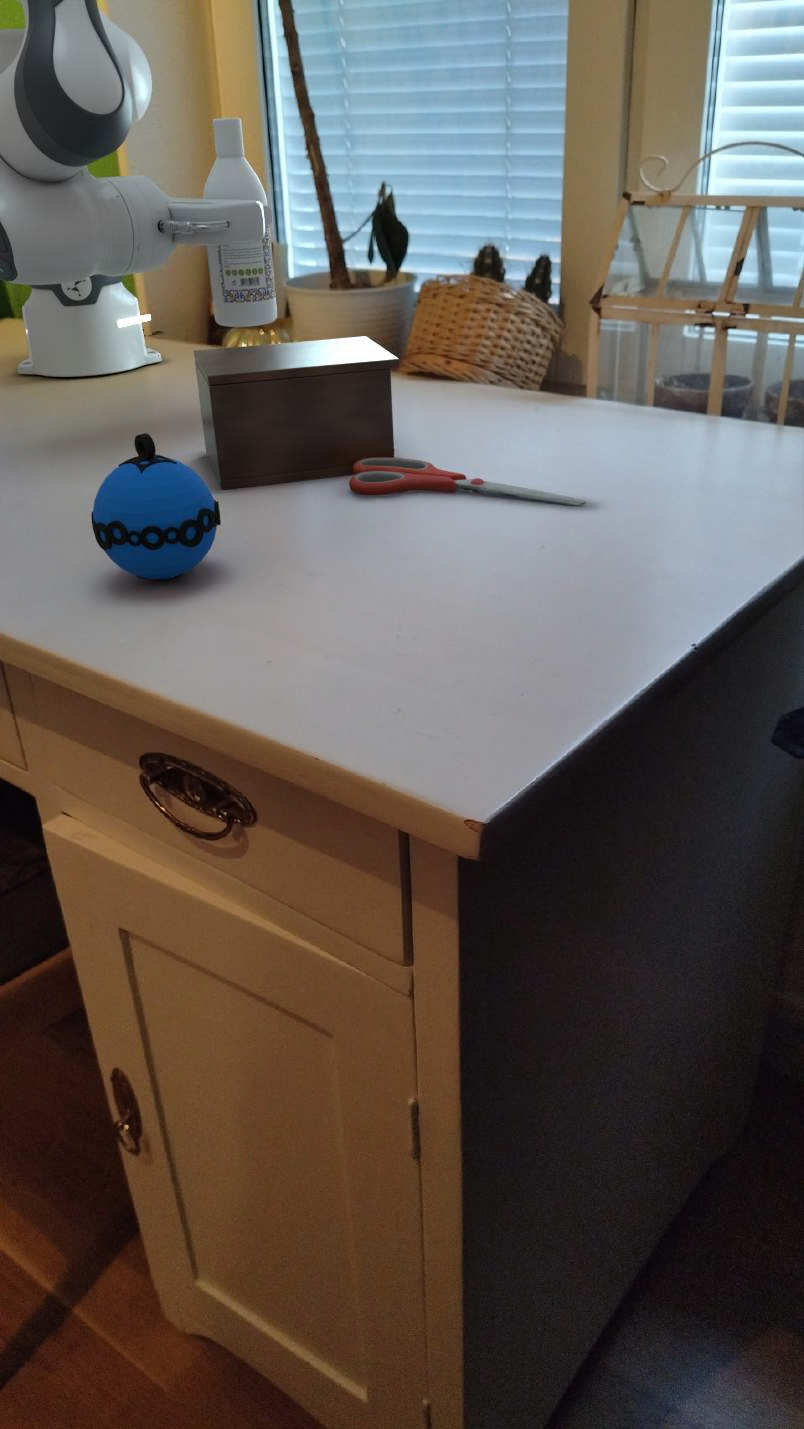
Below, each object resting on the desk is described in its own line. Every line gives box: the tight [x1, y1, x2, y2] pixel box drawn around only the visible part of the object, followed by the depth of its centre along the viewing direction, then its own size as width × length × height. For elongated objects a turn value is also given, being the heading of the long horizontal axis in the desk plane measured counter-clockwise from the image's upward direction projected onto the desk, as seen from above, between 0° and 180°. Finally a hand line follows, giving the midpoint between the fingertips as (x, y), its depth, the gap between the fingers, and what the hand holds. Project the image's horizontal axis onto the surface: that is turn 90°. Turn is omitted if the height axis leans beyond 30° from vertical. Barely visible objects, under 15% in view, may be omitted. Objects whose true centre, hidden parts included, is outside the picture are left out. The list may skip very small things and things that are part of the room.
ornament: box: [90, 432, 222, 581], centre depth 75 cm, size 9×9×10 cm
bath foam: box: [202, 117, 278, 328], centre depth 118 cm, size 7×7×20 cm
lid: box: [193, 335, 400, 385], centre depth 98 cm, size 16×13×1 cm
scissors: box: [348, 457, 587, 506], centre depth 93 cm, size 8×21×2 cm, turn 74°
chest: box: [194, 360, 395, 491], centre depth 100 cm, size 16×13×9 cm
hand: (242, 213), depth 118 cm, fingers closed on bath foam, 7 cm apart
